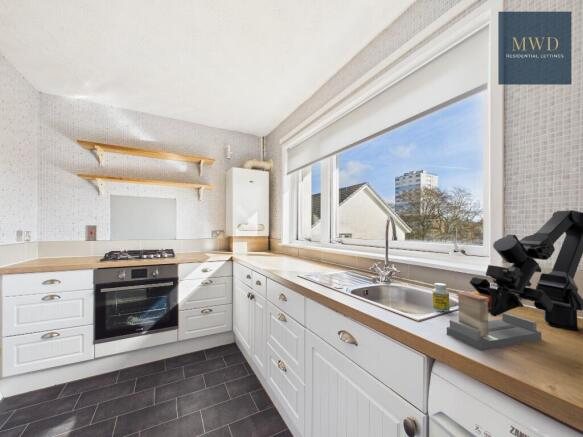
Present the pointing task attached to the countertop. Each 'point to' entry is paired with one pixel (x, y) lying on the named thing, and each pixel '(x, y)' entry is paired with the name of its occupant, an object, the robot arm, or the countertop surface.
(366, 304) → the countertop surface
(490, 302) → the fruit
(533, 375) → the countertop surface
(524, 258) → the robot arm
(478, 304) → the wooden rectangular block
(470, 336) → the grooved grey tray
